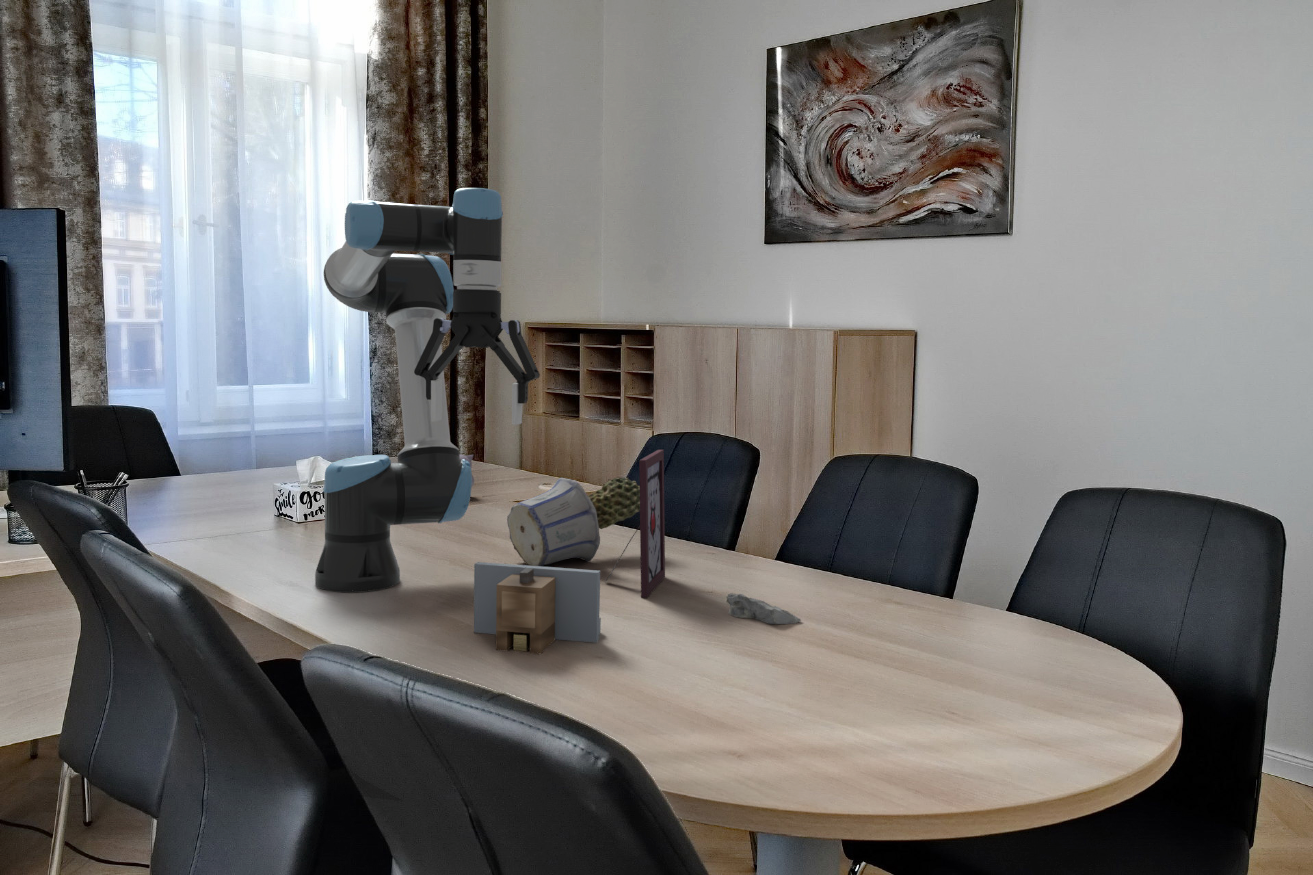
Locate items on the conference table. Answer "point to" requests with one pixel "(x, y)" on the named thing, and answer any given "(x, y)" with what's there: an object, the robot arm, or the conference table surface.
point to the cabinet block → (525, 610)
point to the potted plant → (569, 520)
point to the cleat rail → (521, 641)
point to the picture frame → (651, 522)
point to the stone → (758, 610)
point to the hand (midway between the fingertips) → (476, 422)
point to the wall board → (572, 599)
